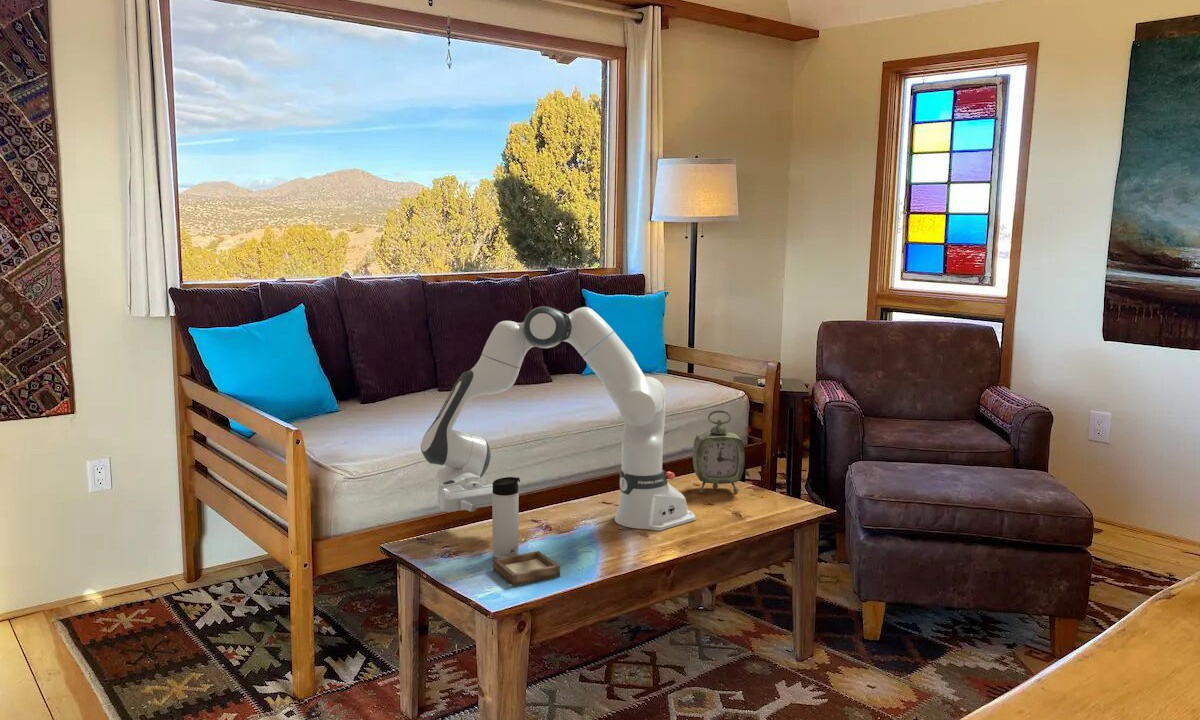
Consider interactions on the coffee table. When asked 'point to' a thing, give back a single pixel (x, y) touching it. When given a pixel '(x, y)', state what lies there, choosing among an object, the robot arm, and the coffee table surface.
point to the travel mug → (505, 517)
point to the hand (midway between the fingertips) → (491, 505)
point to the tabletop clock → (718, 455)
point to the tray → (526, 568)
